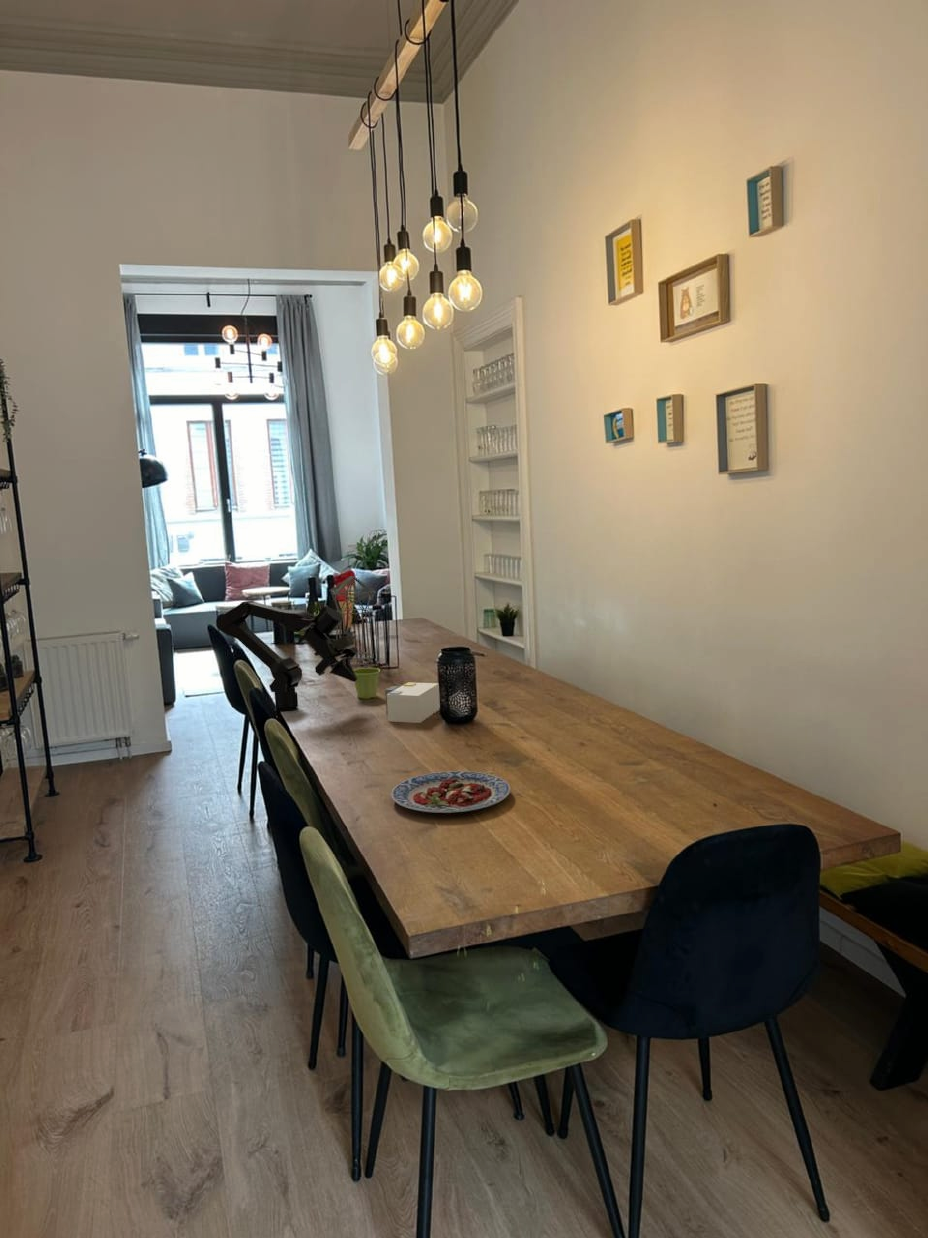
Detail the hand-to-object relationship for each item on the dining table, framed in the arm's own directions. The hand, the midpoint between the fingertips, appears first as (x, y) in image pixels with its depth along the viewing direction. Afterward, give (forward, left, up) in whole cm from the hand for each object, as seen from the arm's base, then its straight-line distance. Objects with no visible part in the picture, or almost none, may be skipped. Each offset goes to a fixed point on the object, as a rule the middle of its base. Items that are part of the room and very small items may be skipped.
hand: (355, 680), depth 270 cm
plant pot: (+4, +19, -10) cm, 22 cm away
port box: (+16, -9, -10) cm, 21 cm away
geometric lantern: (+4, +68, -10) cm, 69 cm away
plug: (+13, -8, -9) cm, 18 cm away
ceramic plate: (+14, -83, -10) cm, 85 cm away
